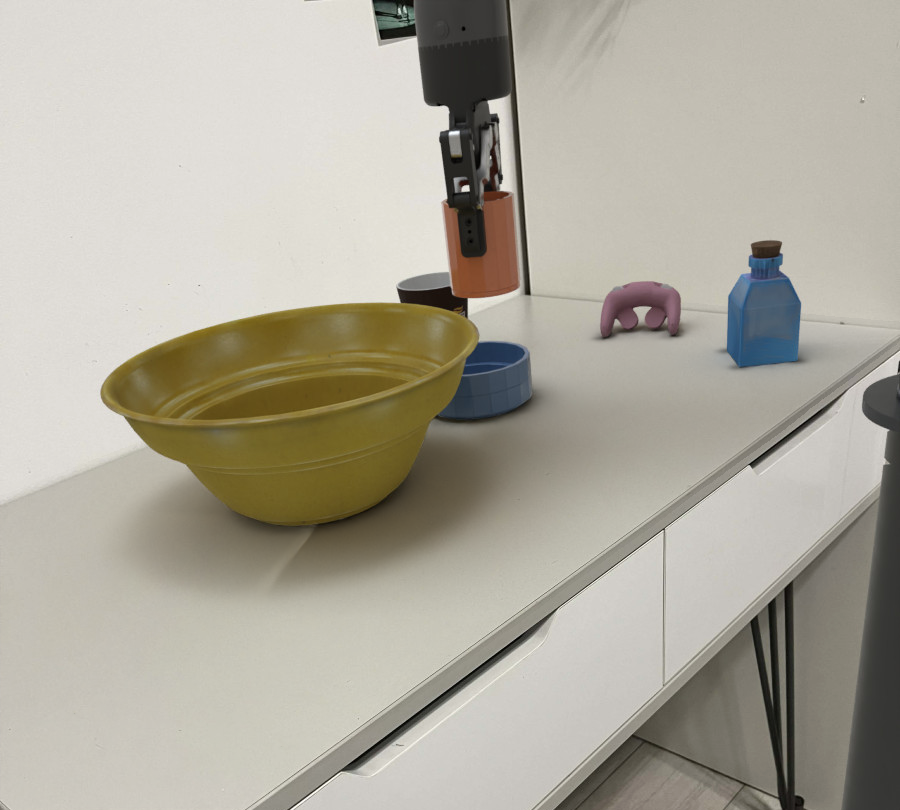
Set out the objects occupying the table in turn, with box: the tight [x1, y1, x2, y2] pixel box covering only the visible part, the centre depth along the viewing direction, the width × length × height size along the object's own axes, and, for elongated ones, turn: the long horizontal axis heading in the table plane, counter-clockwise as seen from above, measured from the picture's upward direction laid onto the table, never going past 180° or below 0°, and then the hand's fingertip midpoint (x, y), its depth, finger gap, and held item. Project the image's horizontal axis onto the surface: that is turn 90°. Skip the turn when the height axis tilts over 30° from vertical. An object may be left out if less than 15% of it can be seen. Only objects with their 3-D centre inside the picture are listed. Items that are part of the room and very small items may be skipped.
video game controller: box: [599, 280, 682, 338], centre depth 119 cm, size 10×5×7 cm, turn 72°
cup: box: [440, 190, 521, 299], centre depth 87 cm, size 6×6×8 cm
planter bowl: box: [99, 302, 480, 527], centre depth 85 cm, size 32×32×13 cm
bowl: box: [436, 340, 534, 421], centre depth 103 cm, size 12×12×5 cm
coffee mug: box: [395, 271, 469, 319], centre depth 116 cm, size 12×9×10 cm
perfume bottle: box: [726, 239, 802, 368], centre depth 103 cm, size 6×6×12 cm
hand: (482, 247), depth 87 cm, fingers closed on cup, 6 cm apart
